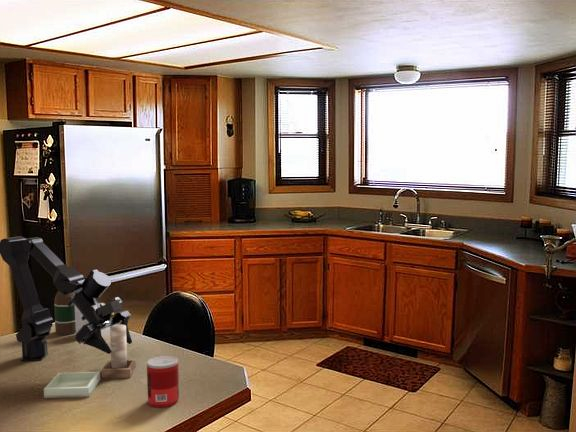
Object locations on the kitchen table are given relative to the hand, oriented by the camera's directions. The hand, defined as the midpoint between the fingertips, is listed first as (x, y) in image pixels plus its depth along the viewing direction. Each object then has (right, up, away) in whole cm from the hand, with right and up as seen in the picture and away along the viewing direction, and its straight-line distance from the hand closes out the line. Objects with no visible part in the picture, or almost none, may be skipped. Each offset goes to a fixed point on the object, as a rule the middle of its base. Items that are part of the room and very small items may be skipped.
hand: (121, 347), depth 165 cm
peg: (-1, -8, +1) cm, 8 cm away
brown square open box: (-1, -8, +1) cm, 8 cm away
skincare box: (-23, -4, +37) cm, 43 cm away
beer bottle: (-32, -4, +40) cm, 51 cm away
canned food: (+17, -10, -19) cm, 27 cm away
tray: (-10, -9, -10) cm, 17 cm away
